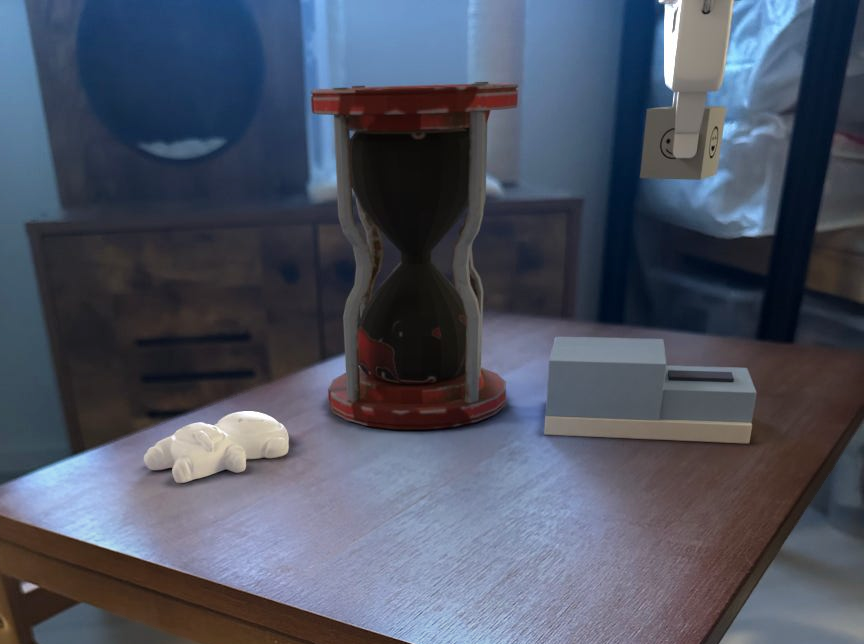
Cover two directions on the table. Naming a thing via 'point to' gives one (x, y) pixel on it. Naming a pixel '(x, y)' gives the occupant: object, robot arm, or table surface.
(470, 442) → the table surface
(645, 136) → the beige smiley face cube
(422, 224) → the hourglass
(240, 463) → the astronaut figurine
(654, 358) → the stepped block with slot
